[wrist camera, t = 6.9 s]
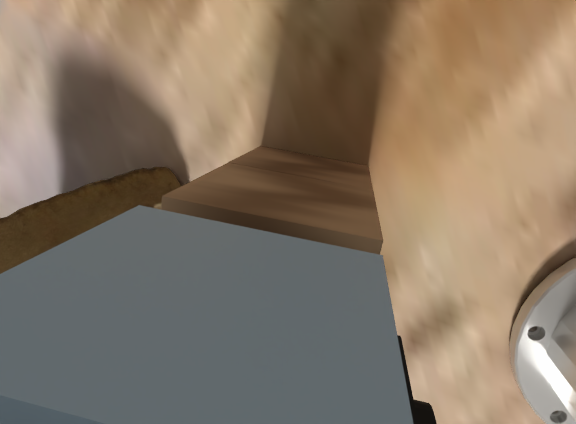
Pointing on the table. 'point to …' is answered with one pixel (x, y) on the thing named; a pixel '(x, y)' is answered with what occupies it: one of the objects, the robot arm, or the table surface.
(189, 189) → the tower mid
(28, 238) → the rock
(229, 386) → the blue block
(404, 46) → the table surface
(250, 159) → the tower base
